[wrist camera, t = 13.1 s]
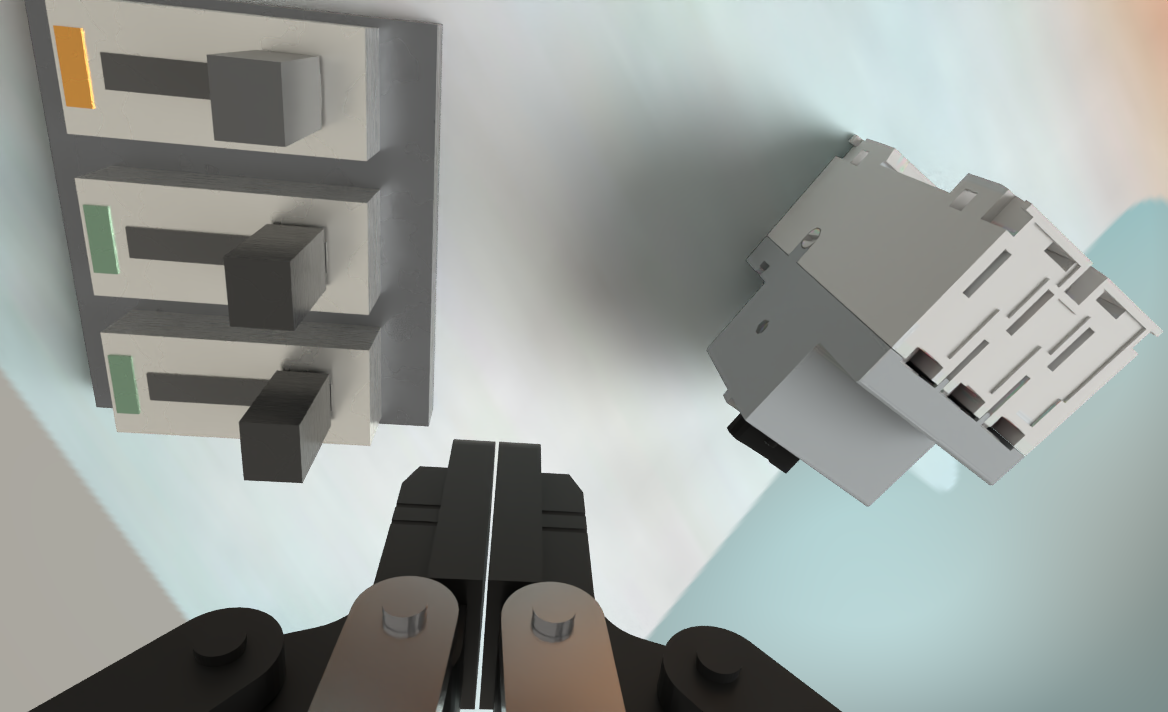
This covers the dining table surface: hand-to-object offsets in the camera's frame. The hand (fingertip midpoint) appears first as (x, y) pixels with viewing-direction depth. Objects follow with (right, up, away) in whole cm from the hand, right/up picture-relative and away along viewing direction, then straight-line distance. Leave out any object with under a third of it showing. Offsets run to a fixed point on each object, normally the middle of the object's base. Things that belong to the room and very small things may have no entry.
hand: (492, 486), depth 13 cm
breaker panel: (-14, +9, +25) cm, 30 cm away
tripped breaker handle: (-10, +13, +17) cm, 24 cm away
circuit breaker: (+14, +6, +28) cm, 32 cm away
